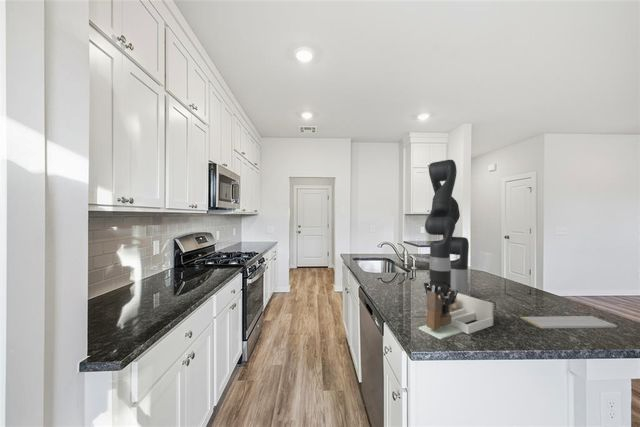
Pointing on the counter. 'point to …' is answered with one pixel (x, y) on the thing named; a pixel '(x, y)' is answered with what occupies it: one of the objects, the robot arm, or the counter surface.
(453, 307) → the offcut stack
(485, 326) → the offcut rack
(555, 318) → the baseboard
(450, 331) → the sage mat
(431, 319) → the wooden block
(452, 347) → the counter surface
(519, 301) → the counter surface
